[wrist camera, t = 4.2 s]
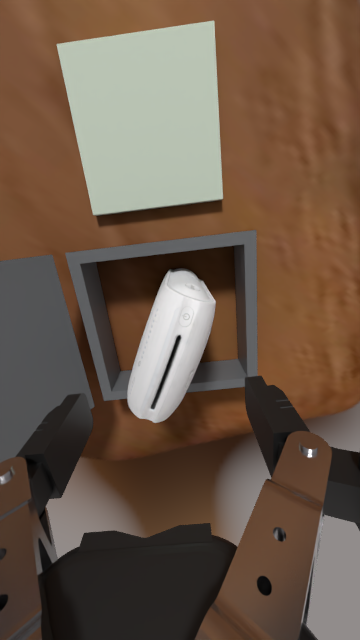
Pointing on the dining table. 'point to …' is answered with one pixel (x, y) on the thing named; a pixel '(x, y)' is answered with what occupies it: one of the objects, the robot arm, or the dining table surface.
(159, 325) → the white slotted device
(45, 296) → the case lid
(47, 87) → the dining table surface
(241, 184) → the dining table surface
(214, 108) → the mat
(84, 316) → the case
